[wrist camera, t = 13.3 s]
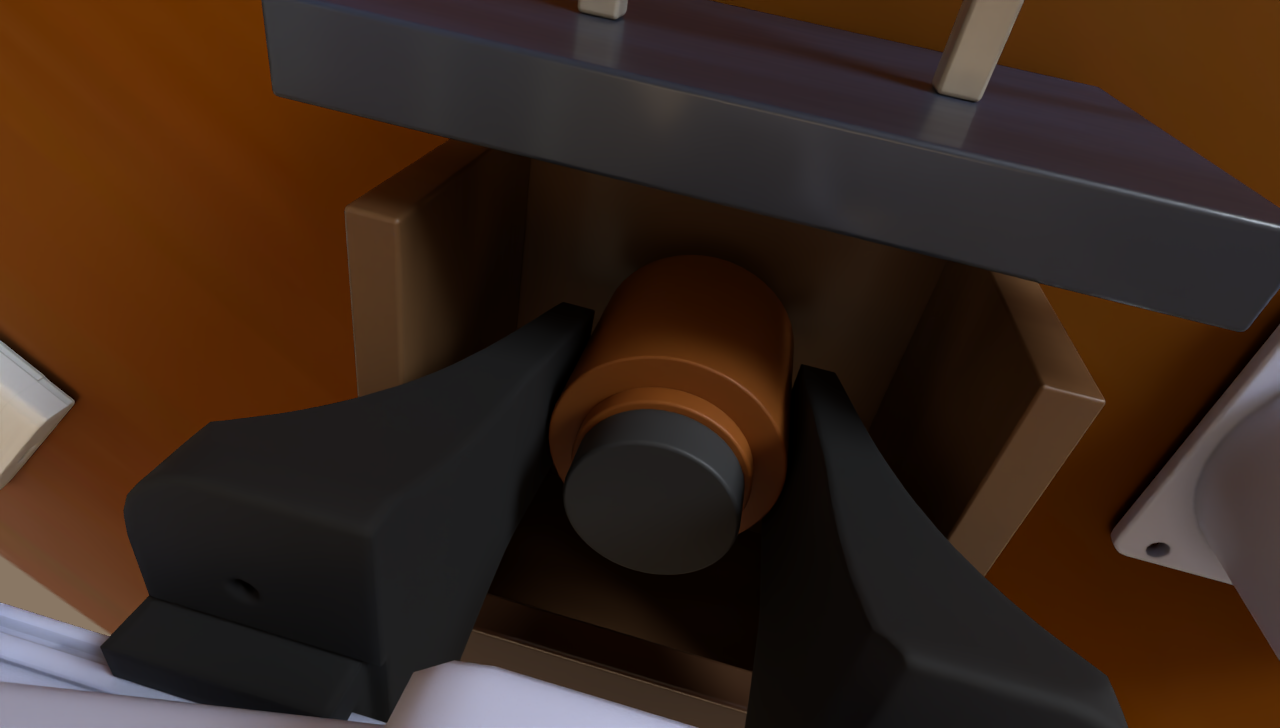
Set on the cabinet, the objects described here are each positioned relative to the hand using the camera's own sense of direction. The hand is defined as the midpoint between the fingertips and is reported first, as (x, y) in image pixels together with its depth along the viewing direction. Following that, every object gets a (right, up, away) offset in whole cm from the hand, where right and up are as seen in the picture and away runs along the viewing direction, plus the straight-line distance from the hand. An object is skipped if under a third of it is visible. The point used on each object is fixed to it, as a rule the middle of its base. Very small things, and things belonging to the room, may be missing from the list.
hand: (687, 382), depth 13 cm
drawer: (+1, +4, +2) cm, 4 cm away
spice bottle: (0, +1, +1) cm, 1 cm away
